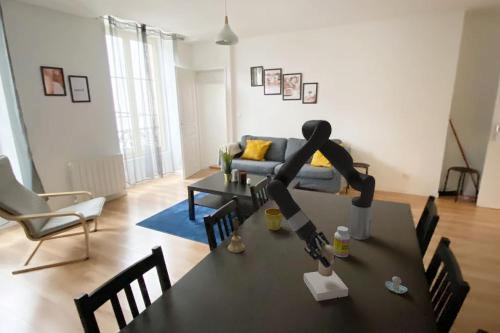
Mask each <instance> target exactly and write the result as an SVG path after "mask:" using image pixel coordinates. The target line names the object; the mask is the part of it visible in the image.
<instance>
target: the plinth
mask: <svg viewBox="0 0 500 333" xmlns="http://www.w3.org/2000/svg"><path fill="white" fill-rule="evenodd" d="M303 281H304V283H305V284H306V286H307V288H308V289H309V291H310V293H311V295H312V296H313V298H314V299H315V301H316V302H320V301H325V300H331V299H337V297H338V298H343V297H348V296H349V288H348V287H347V285H346V284H345V283H344V281H342V279H341V278H340V277H339V275H337V274H336V272H335V271H334V270H333V274H332V275H331V276H329V277H325V276H322V275H320V274H319V273H318V271H313V272H304V273H303Z"/></svg>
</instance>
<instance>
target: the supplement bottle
mask: <svg viewBox="0 0 500 333" xmlns="http://www.w3.org/2000/svg"><path fill="white" fill-rule="evenodd" d="M333 238H334V239H333V247H334V256H335V257H338V258H346V257H348V256H349V251H350V240H351V236H350V235H349V228H348V227H346V226H342V225H340V226H338V227H337V229H336V232H334V236H333Z"/></svg>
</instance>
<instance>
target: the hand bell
mask: <svg viewBox="0 0 500 333" xmlns="http://www.w3.org/2000/svg"><path fill="white" fill-rule="evenodd" d="M239 226H240V221H239V218H238V216H235V217H234V220H233V229H234V236H232V237H231V238H230V239H231V241H230V243H229V245H228V247H227V250H228V251H229V252H231V253H233V254H235V253H242V252H243V251H245V249H246V247H245V245H244V244H243V241H242V238H241V236H239V232H238V231H239Z"/></svg>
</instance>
